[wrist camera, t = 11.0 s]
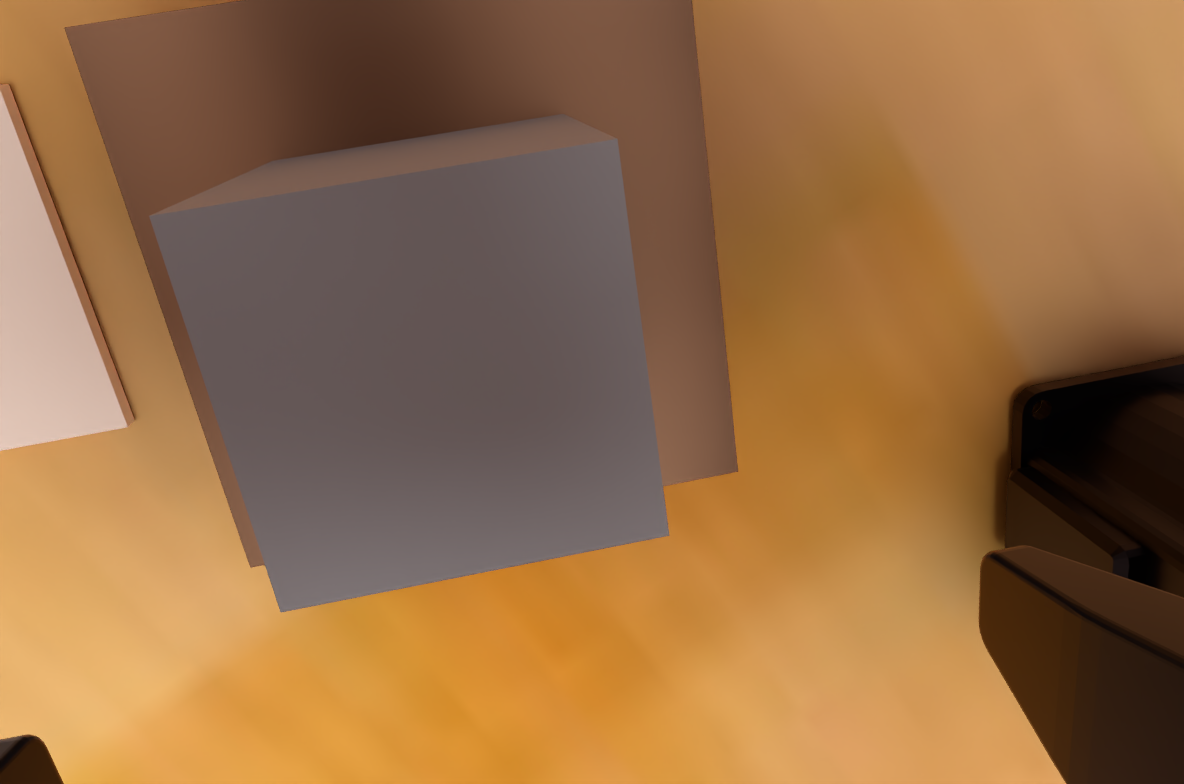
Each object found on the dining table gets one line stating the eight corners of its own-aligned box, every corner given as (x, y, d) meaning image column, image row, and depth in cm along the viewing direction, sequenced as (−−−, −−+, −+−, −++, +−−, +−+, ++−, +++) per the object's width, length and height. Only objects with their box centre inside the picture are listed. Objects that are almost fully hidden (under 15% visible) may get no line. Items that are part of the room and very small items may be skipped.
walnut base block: (650, -45, 17) (684, -68, 14) (701, 417, 21) (738, 471, 18) (133, 34, 16) (64, 27, 14) (281, 498, 20) (250, 567, 17)
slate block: (563, 113, 15) (617, 139, 9) (603, 380, 17) (669, 536, 11) (272, 160, 15) (149, 215, 9) (345, 428, 16) (280, 612, 11)
